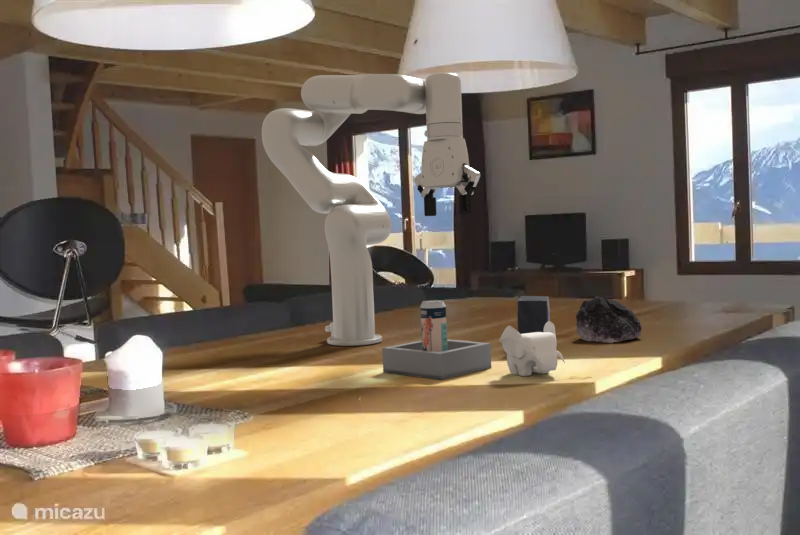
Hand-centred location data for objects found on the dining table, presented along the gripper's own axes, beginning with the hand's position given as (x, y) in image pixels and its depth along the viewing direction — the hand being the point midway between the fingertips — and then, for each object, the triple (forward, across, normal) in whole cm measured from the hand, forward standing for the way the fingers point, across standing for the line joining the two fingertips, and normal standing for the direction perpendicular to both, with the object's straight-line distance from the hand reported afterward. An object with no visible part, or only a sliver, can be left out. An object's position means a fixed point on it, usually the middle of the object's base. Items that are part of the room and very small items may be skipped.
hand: (447, 215), depth 182 cm
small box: (+29, +14, +10) cm, 33 cm away
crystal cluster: (+29, +21, +28) cm, 45 cm away
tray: (+28, +14, -22) cm, 38 cm away
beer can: (+28, +14, -22) cm, 38 cm away
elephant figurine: (+29, +32, -16) cm, 46 cm away
